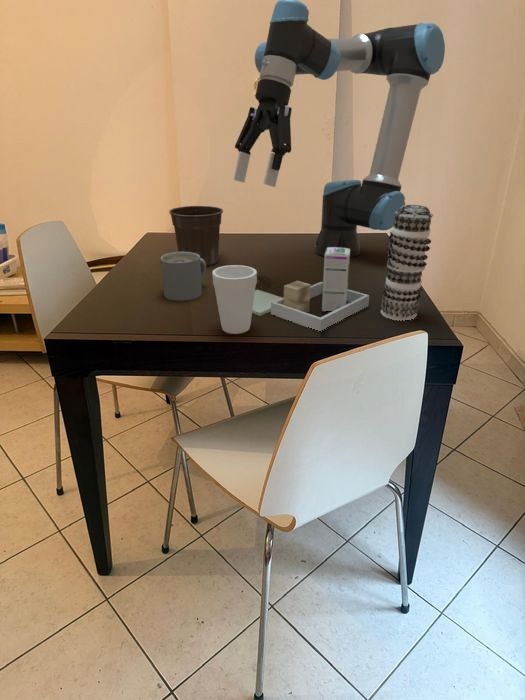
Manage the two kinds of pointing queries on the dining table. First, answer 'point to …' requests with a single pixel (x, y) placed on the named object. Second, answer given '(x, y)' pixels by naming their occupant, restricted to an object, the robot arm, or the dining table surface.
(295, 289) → the beech block
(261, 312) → the sage pad
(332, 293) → the syrup box
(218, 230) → the plant pot
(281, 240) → the dining table surface
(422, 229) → the decorative candle
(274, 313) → the parts bin
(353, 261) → the dining table surface
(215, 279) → the foam cup
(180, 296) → the coffee mug
